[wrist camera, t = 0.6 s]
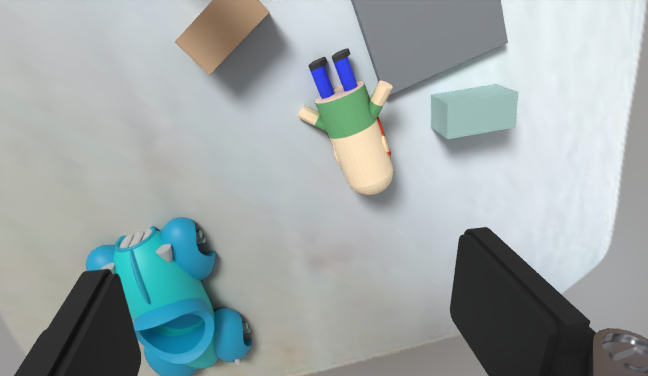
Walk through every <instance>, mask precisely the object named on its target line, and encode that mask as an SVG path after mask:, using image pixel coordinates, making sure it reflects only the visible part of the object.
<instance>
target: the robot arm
mask: <svg viewBox="0 0 648 376" xmlns="http://www.w3.org/2000/svg"><path fill="white" fill-rule="evenodd" d="M450 314H451V317H452V320H453V322H454V323H455V325H456V326H457V328H458V330H459V331H460V333H461V334H462V336H463V337H464V338H465V340H466V342H467V343H468V345H469V346H470V348H471V349H472V351H473V352H474V354H475V355H476V357H477V359H478V360H479V362H480V363H481V365H482V366H483V368H484V369H485V371H486V372H487V374H488V375H489V376H648V339H647V338H645V337H643V336H641V335H639V334H636V333H633V332H630V331H627V330H622V329H612V328H607V329H603V330H600V331H598V332H597V333H596V332H595V331H593V330H592V329H591V328H590V327H589V324H590V320H588V319H587V318H586V317H585V316H584V315H583V314H582V313H581V312H580V311H579V310H578V309H576V308H575V307H574V306H573V305H572V304H571V303H570V302H569V301H567V300H566V298H564V297H563V296H562V295H561V294H560V293H559V292H558V291H557V290H556V289H555V288H553V287H552V286H551V285H550V284H549V283H548V282H547V281H546V280H545V279H544V278H543V277H541V276H540V275H539V274H538V273H537V272H536V271H535V270H534V269H533V268H532V267H531V266H529V265H528V264H527V263H526V262H525V261H524V260H523V259H522V258H521V257H520V256H519V255H517V254H516V253H515V252H514V251H513V250H512V249H511V248H510V247H509V246H508V245H507V244H505V243H504V242H503V241H502V240H501V239H500V238H499V237H498V236H497V235H496V234H495V233H493V232H492V231H491V230H490V229H489V228H487V227H483V228H474V229H467V230H466V231H465V233H464V235H461V236H460V237H459V243H458V250H457V258H456V266H455V274H454V281H453V289H452V297H451V305H450ZM140 364H141V352H140V348H139V344H138V340H137V337H136V333H135V329H134V326H133V322H132V318H131V315H130V311H129V307H128V304H127V300H126V296H125V293H124V289H123V286H122V282H121V278H120V276H119V274H117V273H116V274H112V272H111V270H110V269H101V270H92V271H85V272H83V273H82V274H81V276H80V277H79V279H78V281H77V282H76V284H75V285H74V287H73V289H72V290H71V292H70V293H69V295H68V297H67V298H66V300H65V301H64V303H63V305H62V306H61V308H60V309H59V311H58V312H57V314H56V316H55V317H54V319H53V320H52V322H51V324H50V325H49V327H48V328H47V329H46V330H44V331H43V332H42V334H41V335H40V336H39V338H38V339H37V341H36V342H35V344H34V345H33V347H32V349H31V350H30V352H29V353H28V355H27V356H26V358H25V359H24V361H23V363H22V364H21V366H20V367H19V369H18V370H17V372H16V374H15V375H14V376H137V375H138V372H139V368H140Z"/></svg>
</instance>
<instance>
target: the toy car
mask: <svg viewBox="0 0 648 376" xmlns="http://www.w3.org/2000/svg"><path fill="white" fill-rule="evenodd" d="M202 234H203V233H202V231H201V230H199V231H198V232H196V229H195V224H194V222H193V220H191V219H188V218H176V219H173V220H171V221H170V222H168V223H167V224H166V225H165V227H164V228H163V229H162V230H159V231H158V230H156V228H155V227H154V226H152V227H150V229H149V230H147V231H146V232H145V233H144V232H138V233H136V234H135V235H134V236H133V235H129V236H122V237H121V238H120V239H119V240H118V241H117V242H116V244H115V245H103V246H100V247H98V248H96V249H94V250H93V251H92V252H91V253H90V254H89V256H88V258H87V261H86V269H87V271H92V270H101V269H110V270H111V272H112V274H116V273H117V274H119V276H120V278H121V282H122V286H123V289H124V293H125V296H126V300H127V304H128V307H129V311H130V315H131V317H132V319H133V320H134V323H133V326H134V329H135V333H136V337H137V339H138V340H139V341H140V342H141V343H142V344H143V345H144V353H145V358H146V360H147V362H148V364H149V365H150V367H151V368H152V369H153V370H154V371H155V372H156V373H157V374H159V375H160V376H192V375H193V374H194V373H195V372H196V370H197V369H198V368H203V369H204V368H209V367H211V366H213V365H214V364H215V363H216V362H217V360H218V358H219V359H221V360H223V361H225V362H235V364H236V365H238V364H240V363H241V359H243V358H244V357H245V356H246V355H247V353H248V352H249V350H250V347H251V343H252V341H251V339H249V340H246V341H244V340H243V334H245V333H250V328H249V327H248V323H247V322H245V323H243V324H242V318H241V316H240V314H239V313H238V312H237V311H235V310H233V309H229V308H222V309H218V310H216V311H215V312H214V310H213V308H212V305H211V302H210V300H209V298H208V295H207V293H206V291H205V289H204V287H203V285H202V283H201V280H203V279H205V278H206V277H208V276H209V274H210V273H211V272H212V270H213V268H214V264H215V256H216V255H215V251H214V252H211V253H208V254H205V255H203V254H202V253H200V251H199V250H198V247H197V244H200V243H205V242H206V239H205V237H202ZM201 237H202V238H201ZM197 238H199V239H197Z"/></svg>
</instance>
